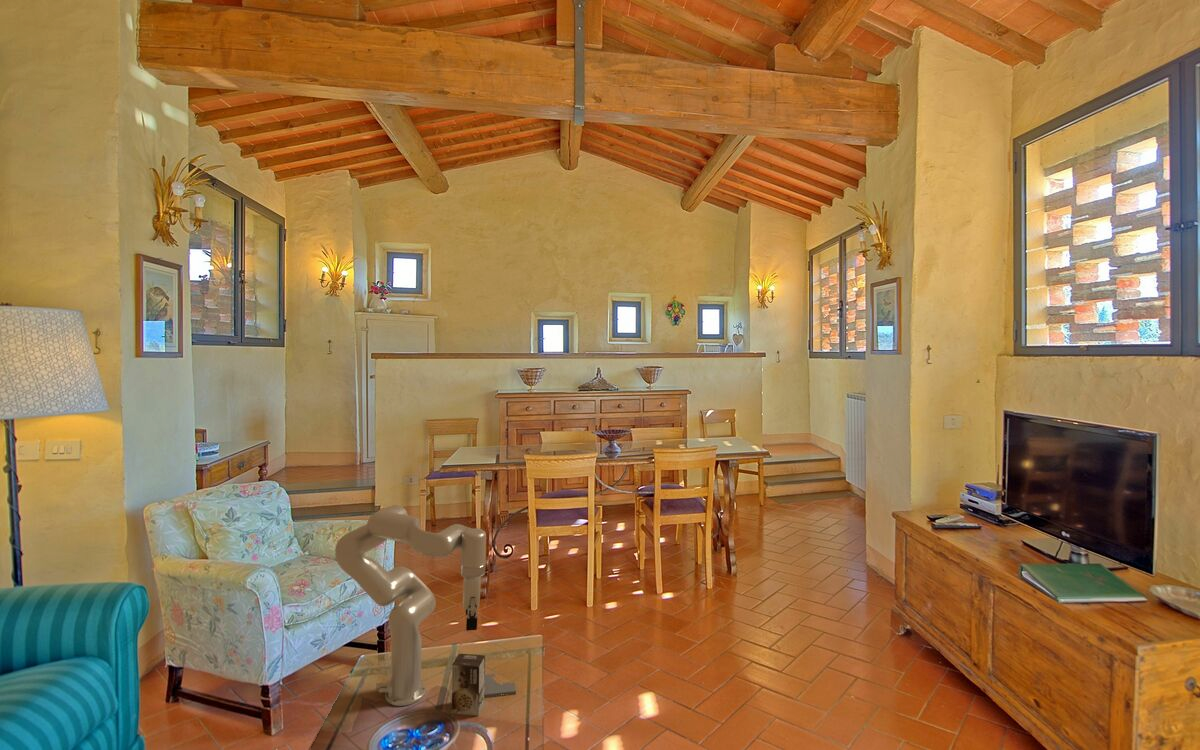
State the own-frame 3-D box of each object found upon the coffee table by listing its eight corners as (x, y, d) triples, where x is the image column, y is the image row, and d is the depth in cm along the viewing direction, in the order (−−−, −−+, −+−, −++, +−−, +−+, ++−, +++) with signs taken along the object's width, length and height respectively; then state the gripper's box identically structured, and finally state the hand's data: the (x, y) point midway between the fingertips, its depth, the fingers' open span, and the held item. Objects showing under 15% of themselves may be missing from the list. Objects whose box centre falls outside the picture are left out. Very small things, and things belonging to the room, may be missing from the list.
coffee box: (485, 703, 177) (486, 655, 176) (478, 716, 170) (480, 666, 170) (457, 700, 178) (459, 652, 177) (450, 713, 171) (451, 663, 171)
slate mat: (482, 697, 180) (482, 694, 179) (481, 677, 190) (481, 675, 190) (515, 693, 182) (515, 691, 182) (512, 674, 193) (513, 671, 193)
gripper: (460, 559, 180) (458, 609, 180) (460, 581, 163) (458, 637, 164) (483, 557, 181) (482, 608, 182) (486, 580, 165) (484, 635, 166)
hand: (471, 621), depth 173 cm, fingers open, 9 cm apart
